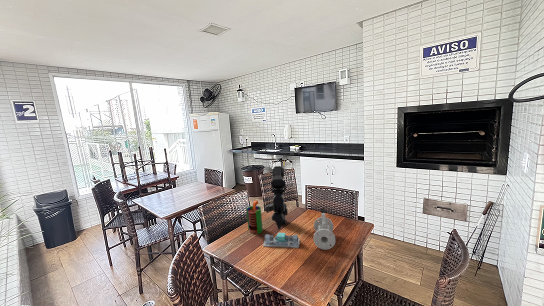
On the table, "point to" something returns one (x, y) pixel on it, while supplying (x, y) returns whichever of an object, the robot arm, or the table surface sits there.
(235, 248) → the table surface
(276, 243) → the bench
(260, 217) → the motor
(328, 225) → the valve
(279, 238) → the coupler
